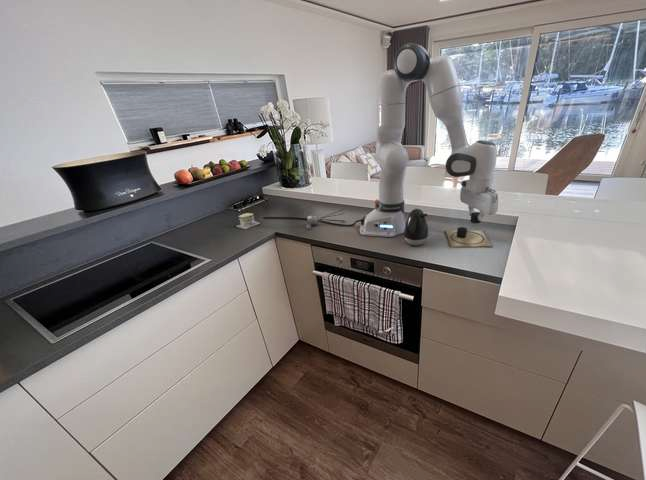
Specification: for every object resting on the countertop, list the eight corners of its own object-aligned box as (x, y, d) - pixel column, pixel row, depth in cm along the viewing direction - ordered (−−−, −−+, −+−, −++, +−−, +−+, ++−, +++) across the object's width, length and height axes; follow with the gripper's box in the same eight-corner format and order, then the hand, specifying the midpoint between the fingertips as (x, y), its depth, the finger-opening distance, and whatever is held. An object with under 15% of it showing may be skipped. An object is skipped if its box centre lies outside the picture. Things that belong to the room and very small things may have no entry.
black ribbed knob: (459, 238, 123) (460, 231, 121) (454, 235, 126) (455, 227, 125) (467, 237, 123) (468, 229, 122) (463, 233, 127) (464, 226, 125)
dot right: (476, 224, 118) (478, 216, 117) (468, 221, 121) (469, 213, 120) (482, 221, 120) (483, 213, 119) (473, 219, 123) (474, 211, 122)
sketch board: (450, 247, 118) (450, 245, 118) (445, 231, 132) (445, 230, 131) (491, 247, 116) (491, 245, 115) (482, 231, 129) (482, 230, 129)
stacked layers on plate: (245, 229, 150) (242, 219, 147) (235, 226, 155) (232, 216, 152) (261, 223, 156) (258, 213, 154) (251, 220, 161) (249, 211, 159)
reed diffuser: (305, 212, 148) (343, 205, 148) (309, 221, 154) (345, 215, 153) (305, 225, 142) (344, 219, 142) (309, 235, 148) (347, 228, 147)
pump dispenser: (416, 250, 117) (417, 215, 110) (398, 242, 125) (399, 209, 117) (433, 243, 122) (435, 208, 115) (415, 235, 130) (416, 203, 122)
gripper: (505, 190, 105) (499, 225, 112) (471, 178, 122) (468, 209, 129) (490, 192, 104) (485, 227, 111) (458, 180, 121) (455, 211, 128)
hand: (475, 217), depth 120 cm, fingers closed on dot right, 4 cm apart
